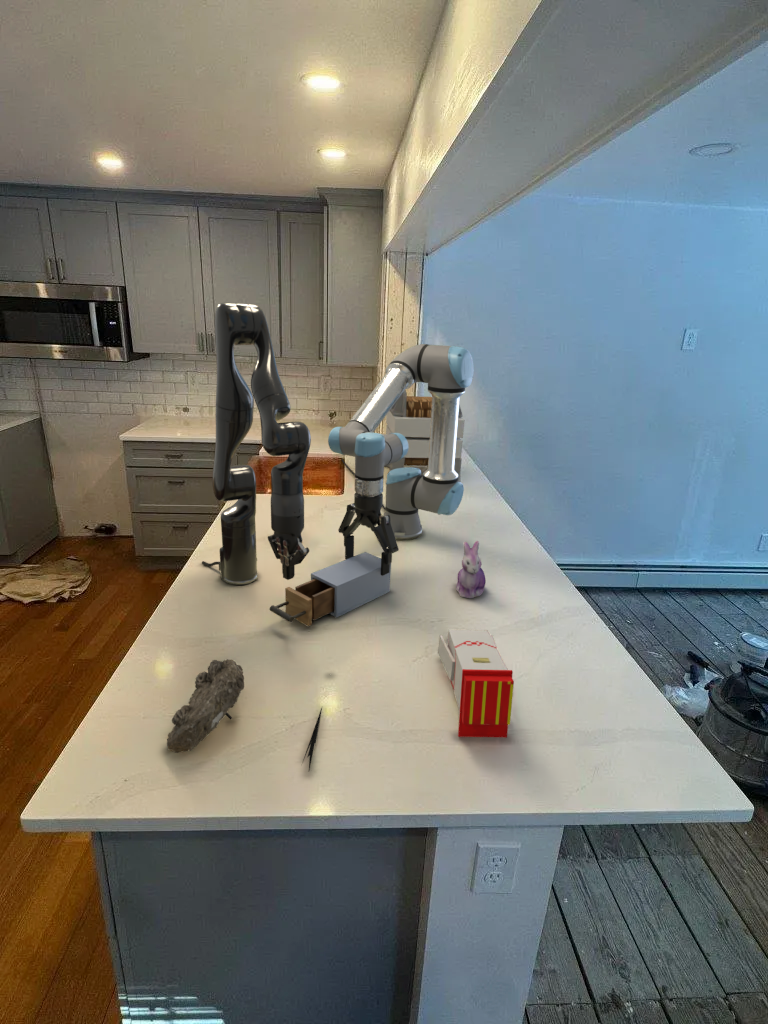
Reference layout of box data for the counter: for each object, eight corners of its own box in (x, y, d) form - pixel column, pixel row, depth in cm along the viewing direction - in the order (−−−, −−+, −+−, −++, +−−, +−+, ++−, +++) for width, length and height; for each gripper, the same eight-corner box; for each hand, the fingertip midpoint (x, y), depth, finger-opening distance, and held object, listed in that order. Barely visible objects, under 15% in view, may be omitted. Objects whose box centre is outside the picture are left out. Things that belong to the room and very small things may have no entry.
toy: (488, 613, 130) (523, 677, 101) (484, 667, 133) (517, 744, 104) (435, 612, 130) (455, 676, 101) (432, 666, 133) (451, 743, 103)
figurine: (467, 602, 155) (472, 552, 149) (446, 586, 163) (450, 538, 158) (494, 596, 159) (500, 546, 154) (473, 580, 167) (478, 533, 162)
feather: (331, 679, 122) (336, 673, 122) (307, 777, 96) (313, 769, 95) (324, 675, 122) (329, 669, 121) (298, 772, 95) (304, 764, 95)
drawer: (291, 634, 134) (290, 608, 132) (268, 621, 140) (267, 595, 137) (363, 600, 152) (364, 575, 149) (341, 588, 157) (341, 565, 155)
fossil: (192, 660, 117) (244, 628, 112) (224, 691, 120) (276, 661, 115) (142, 746, 98) (202, 712, 93) (182, 779, 101) (242, 748, 96)
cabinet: (336, 617, 144) (336, 586, 141) (310, 603, 151) (310, 573, 148) (389, 591, 159) (391, 562, 156) (364, 580, 165) (365, 551, 162)
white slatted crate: (382, 463, 289) (386, 382, 275) (445, 464, 293) (451, 384, 279) (390, 482, 257) (394, 392, 243) (460, 483, 261) (468, 394, 247)
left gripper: (256, 505, 131) (258, 573, 136) (293, 521, 122) (294, 592, 128) (282, 499, 136) (283, 564, 142) (319, 513, 128) (319, 582, 134)
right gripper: (325, 484, 154) (326, 555, 161) (395, 508, 138) (391, 585, 146) (345, 479, 159) (344, 548, 167) (414, 501, 144) (410, 576, 151)
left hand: (288, 578), depth 135 cm, fingers closed
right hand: (366, 565), depth 156 cm, fingers open, 13 cm apart
